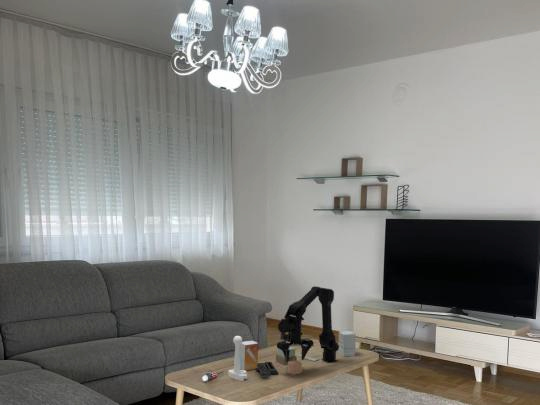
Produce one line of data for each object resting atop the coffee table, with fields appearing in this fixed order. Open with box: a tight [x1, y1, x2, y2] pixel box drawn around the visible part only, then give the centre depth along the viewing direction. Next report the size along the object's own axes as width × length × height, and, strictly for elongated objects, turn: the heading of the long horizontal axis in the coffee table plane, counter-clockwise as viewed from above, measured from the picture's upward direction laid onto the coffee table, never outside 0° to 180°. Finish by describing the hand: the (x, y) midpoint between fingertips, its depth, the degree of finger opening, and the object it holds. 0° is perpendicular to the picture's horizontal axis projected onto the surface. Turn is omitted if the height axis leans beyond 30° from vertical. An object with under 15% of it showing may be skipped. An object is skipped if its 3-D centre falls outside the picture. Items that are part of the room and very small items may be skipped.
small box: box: [240, 340, 259, 371], centre depth 254 cm, size 8×6×13 cm
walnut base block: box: [275, 353, 297, 366], centre depth 266 cm, size 8×8×4 cm
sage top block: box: [276, 346, 296, 358], centre depth 266 cm, size 7×7×4 cm
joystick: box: [228, 335, 248, 382], centre depth 240 cm, size 11×8×20 cm
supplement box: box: [337, 330, 356, 358], centre depth 283 cm, size 7×7×13 cm
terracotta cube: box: [287, 360, 303, 375], centre depth 249 cm, size 5×5×5 cm
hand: (294, 361), depth 249 cm, fingers open, 9 cm apart
